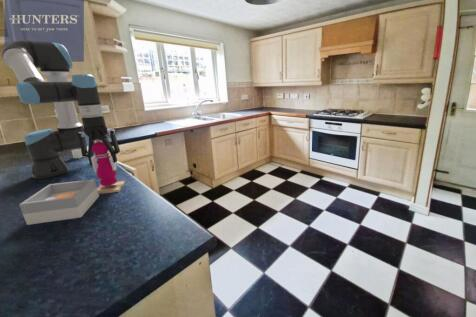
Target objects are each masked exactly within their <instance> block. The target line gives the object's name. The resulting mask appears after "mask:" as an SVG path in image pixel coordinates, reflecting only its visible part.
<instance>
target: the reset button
mask: <svg viewBox="0 0 476 317" xmlns="http://www.w3.org/2000/svg"><path fill="white" fill-rule="evenodd" d="M76 194H77V193H69V194H61V195H58V196H56V197H55V198H54V199H58V198H66V197H73V196H74V195H76Z"/></svg>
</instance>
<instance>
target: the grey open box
mask: <svg viewBox="0 0 476 317" xmlns="http://www.w3.org/2000/svg"><path fill="white" fill-rule="evenodd" d="M97 188H98V186H97V183H96V179H94V178H93V179H86V180H75V181H68V182H67V181H65V182H59V183H58V182H57V183H49V184H48V185H46V186H45V187H43V188H41V189H40V190H39V191H37V192H36V193H34V194H32V195H31V196H29V197H28V198H26V199H25V200H24V201H22V202H21V203H19V205H18V206H19V208H20V210H21V213H22V216H23V218H24V221H25V222H26V223H25V224H26V225H27V226H30V225H34V224H35V225H36V224H42V223H50V222H57V221H58V222H59V221H65V220H71V219H78V218H82V217H83V216H84V214H85V213H86V212H87V211H88V210H89V209H90V207H92V206H93V204H94V203H95V202H96V201H97V199H98V198H99V197H100V194H99V193H98V190H97ZM69 193H77V194H76V195H74V196H73V197H66V198H58V199H54V198H55V197H56V196H58V195H61V194H69Z"/></svg>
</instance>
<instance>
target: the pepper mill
mask: <svg viewBox="0 0 476 317" xmlns="http://www.w3.org/2000/svg"><path fill="white" fill-rule="evenodd" d="M92 151H93V154H94V156H96V157H95V158H96V160H97V164H98V169H97V173H96V177H97V179H99V182H100V184H101V185H102V186H109V185H112V184H115V183H116V182H117V181H118V179H117V177H116V176H117V169H116V170H115V171H113V169H112V165H111V161H110V159H109V158H108V156H110V153H109V154H108V152H109V151H108V149H107V147H106V146H105V144H104V143H103V142H101V139H96V143H94V144H93V145H92ZM107 151H108V152H107Z"/></svg>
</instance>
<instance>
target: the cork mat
mask: <svg viewBox="0 0 476 317" xmlns="http://www.w3.org/2000/svg"><path fill="white" fill-rule="evenodd" d="M125 184H126V180H117V182H116V183H115V184H112V185H109V186H102V185H101V183H100V185H99V186H97V190H98V193H99V195H104V194H105V195H106V194H112V193H120V191H121V190H122V188H123V187H124V186H125Z"/></svg>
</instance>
